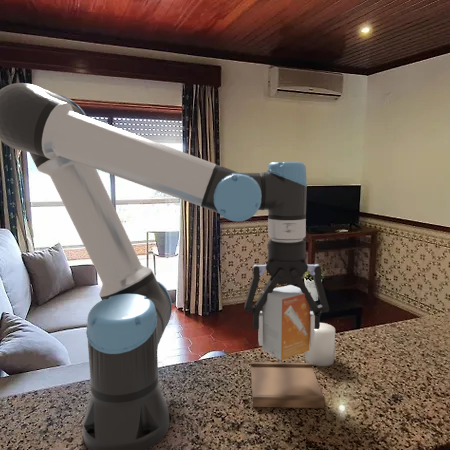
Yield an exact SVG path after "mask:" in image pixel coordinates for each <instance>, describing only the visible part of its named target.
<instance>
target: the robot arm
mask: <svg viewBox="0 0 450 450" xmlns="http://www.w3.org/2000/svg"><path fill="white" fill-rule="evenodd" d="M0 141H1V142H2V143H3V144H4V145H7V146H8V147H9V148H12V149H14V150H17V151H20V152H21V151H22V152H27V153H29V155H30V157H31V158H32V160H33V163H34V165H35V167H36V169H37V171H38V172H39V173H43V174H45V175H48V176H49V177H50V180H51V181H52V183H53V185H54V187H55V189H56V191H57V194H58V196H59V198H60V199H61V202H62V203H63V205H64V207H65V210H66V213H67V214H68V215H69V216H68V217H70V220H71V221H72V224H73V226H74V228H75V230H76V232H77V234H78V235H79V239H80V240H81V242H82V244H83V246H84V248H85V250H86V253H87V254H88V256H89V258H90V260H91V262H92V265H93V267H94V268H95V271H96V273H97V275H98V278H100V279H99V280H100V281H101V283H102V284H101V285H102V286H101V289H100V292H99V296H100V299H101V300H100V301H98V302H96V303H95V304H94V305H93V306H92V308H91V309H90V310H89V312H88V314H87V315H88V316H87V319H86V320H87V322H86V323H87V325H86V332H85V333H86V338H87V347H88V349H87V350H88V362H89V379H90V391H91V393H90V397H89V401H88V404H87V407H86V411H85V415H84V418H83V424H82V433H83V435H82V437H83V438H82V439H83V442H84V445H85V446H86V447H87V448H88V449H89V450H149V449H151V448H153V447H154V446H156V445H157V444H158V443H160V442H161V441H162V439H164V437H165V436H166V435H167V433H168V431H169V428H170V411H169V410H170V409H169V407H168V405H167V401H166V399H165V397H164V394H163V391H162V389H161V387H160V384H159V366H158V365H159V363H158V347H159V344H160V342H161V339H162V337H163V335H164V333H165V330H166V327H167V326H168V324H169V322H170V320H171V317H172V310H173V309H172V307H173V305H172V304H173V303H172V302H173V301H172V298H171V294H170V292H169V290H168V289H167V287H165V285H164V284H162V283H161V282H159V281H158V280H157V278H156V276H155V273H154V272H153V270H152V269H151V268H150V267H147V266H144V265H142V263H141V261H140V259H139V257H138V255H137V253H136V251H135V248H134V246H133V244H132V242H131V240H130V237H129V236H128V234H127V231H126V230H125V228H124V225H123V223H122V221H121V218H120V217H119V215H118V213H117V210H116V208H115V206H114V204H113V201H112V200H111V198H110V196H109V194H108V192H107V190H106V187H105V185H104V183H103V181H102V178H101V176H100V174H99V172H98V171H101V172H104V173H106V174H108V175H109V174H110V175H111V176H112V175H113V176H114V177H117V178H120V179H124V180H126V181H128V182H132V183H134V184H138V185H140V186H142V187H146V188H149V189H152V190H154V191H157V192H160V193H163V194H166V195H168V196H170V197H174V198H176V199H180V200H182V201H185V202H188V203H190V204H194V205H196V206H199V207H202V208H204V209H206V210H209V211H211V212H215V213H217V214H220V216H222V218H225V219H226V220H229V221H232V222H245V221H247V220H250V219H251V218H252V217H254V216H255V215H256V213H258V211H267V213H268V215H267V216H268V218H267V220H268V221H267V223H268V224H267V236H268V237H269V238H270V239H269V240H267V262H266V263H265V264H258V263H254V264H253V265H252V270H253V273H252V278H251V282H250V284H249V285H250V286H249V289H248V292H247V296H246V299H245V303H244V311H245V313H250V314H252V325H253V326H252V327H253V328H254V329H253V330H258V340H257V341H258V346H260V347H262V346H263V314H262V308H263V306H264V304H265V303H266V301H267V296H268V293H272V291H273V289H274V288H277V285H279V286H282V285H293V286H295V285H296V284H297V287H298V288H300V289H301V291H302V293H304V294H305V298H306V300H307V301H308V303H309V305H310V309H311V310H310V342H309V343H310V346H314V335H315V329H319V327H320V323H321V319H320V318H321V315H322V314H323V313H328V312H329V311H330V306H329V302H328V299H327V296H326V292H325V288H324V285H323V281H322V278H321V276H322V267H321V265H320V264H319V263H313V264H308V263H307V261H306V248H307V247H306V245H307V244H306V243H307V242H306V241H305V238H306V236H307V235H306V234H307V231H306V230H307V229H306V228H307V225H306V221H307V219H306V218H307V187H308V184H307V182H308V181H307V167H306V165H305V163H304V162H301V161H282V162H281V161H280V162H279V161H276V162H275V161H274V162H273V161H272V162H270V163H269V164H268V165H267V171H264V172H238V171H235V170H233V169H230V168H227V167H226V166H225V167H224V166H222V165H219V164H217V163H214V162H211V161H209V160H205V159H203V158H199V157H197V156H194V155H192V154H190V153H186V152H184V151H181V150H178V149H176V148H173V147H170V146H167V145H165V144H162V143H159V142H157V141H154V140H151V139H148V138H145V137H143V136H140V135H138V134H135V133H132V132H129V131H127V130H124V129H120V128H118V127H115V126H113V125H110V124H108V123H105V122H102V121H99V120H96V119H94V118H92V117H88V116H87V115H86V113H85V111H84V109H82V108H81V107H80V106H79V105H78V104H77V103H75V102H74V101H73V100H72V99H70V98H69V97H67V96H64V95H62V94H58V93H54V92H52V91H49V90H48V89H44V88H42V87H40V86H38V85H35V84H31V83H26V82H25V83H24V82H16V83H11V84H8V85H6V86H4V87H2V88H1V89H0ZM265 271H267V273H268V274H269V276H270V277H269V279H268V282H267V283H266V284H265V287H264V289H263V290H262V292H263V291H264V293H263V294H262V292H261V293H260V295H259V297H258V299H257V300H256V302H255V304H253V302H254V300H255V296H256V293H257V289H258V286H259V282H260V278H261V276H263V275H264V272H265ZM307 271H309V275H311V276H312V278H313V283H314V286H315V290H316V293H317V296H318V300H319V303H320V304H317V303H316V301H315V300H314V298H313V296H312V294H311V295H310V293H309V292H310V291H309V289H308V288H307V285H306V284H305V283H304V281H303V279H302V278H303V277H304V275H305V273H307Z"/></svg>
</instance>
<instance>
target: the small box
mask: <svg viewBox="0 0 450 450" xmlns="http://www.w3.org/2000/svg"><path fill="white" fill-rule="evenodd" d="M261 293H262V294H263V293H264V291H263V290H262V291H261ZM309 293H310V295H311V296H312V293H311V291H309ZM261 311H262V314H263V346H261V347H262V348H261V350H262V351H264V352H266V353H267V354H269V355H271V356H272V357H273V358H275V359H277V360H279V361H280V362H283V361H284V360H287V359H289V358H292V357H295V356H297V355H300V354H304V353H305V352H307V351H309V342H310V311H311V306H310V305H309V303H308V301H307V300H306V298H305V294H304V293H302V291H301V289H300V288H299V286H295V285H290V284H287V285H285V286H279V287H275V288H274V289H273V291H272V293H268V296H267V301H266V303H265V304H264V306H263V308H262V309H261Z"/></svg>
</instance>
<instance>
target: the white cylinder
mask: <svg viewBox="0 0 450 450" xmlns="http://www.w3.org/2000/svg"><path fill="white" fill-rule="evenodd" d="M335 344H336V328H335V327H334V326H333V325H331V324H330V323H329V324H328V323H325V322H320V327H319V329H315V335H314V346H310V343H309V351H307V352H304V360H305V361H306V363H312V366H316V367H328V366H331V365H333V364H334V363H335V349H336V347H335V346H336V345H335Z"/></svg>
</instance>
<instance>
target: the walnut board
mask: <svg viewBox="0 0 450 450" xmlns="http://www.w3.org/2000/svg"><path fill="white" fill-rule="evenodd" d="M250 379H251V380H250V381H251V382H250V383H251V397H252V399H251V401H252V407H253V408H301V409H302V408H303V409H305V408H306V409H307V408H308V409H309V408H310V409H311V408H312V409H324V408H325V399H326V398H325V395H323V392H322V389H321V388H320V384H319V381H318V378H317V377H316V374H315V370H314V369H313V364H312V363H308V362H291V361H290V362H288V361H287V362H283V361H280V362H277V361H276V362H275V361H274V362H273V361H250Z"/></svg>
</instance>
